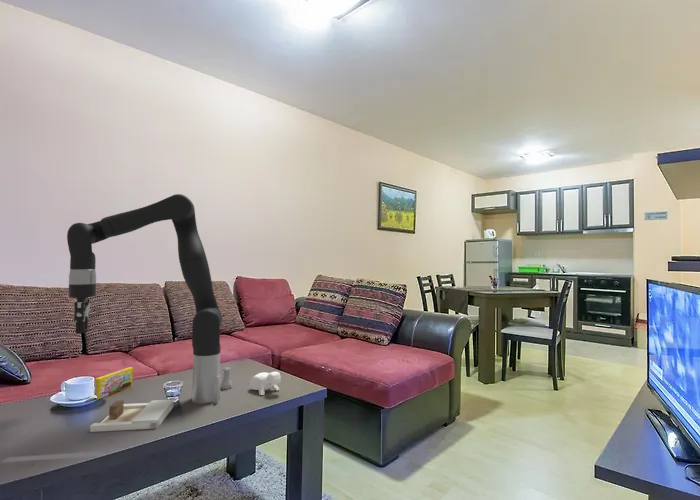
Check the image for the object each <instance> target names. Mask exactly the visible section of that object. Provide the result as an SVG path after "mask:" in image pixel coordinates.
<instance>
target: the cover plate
mask: <svg viewBox="0 0 700 500" xmlns="http://www.w3.org/2000/svg"><path fill="white" fill-rule="evenodd" d="M123 404H125V403H124V400H115V402H113V403H112V404H110V406H109V409H108V410H109V412H108V413H109V415H108V416H109V417H108V418H107V419H106V420H105V421H104V422H103V423H107V422H127V421H132V420H133V419H134V418H135V417H136V416H137V415H138V414H139V413H140V412H141V411H142V410H143V409H144V408H139V409H123Z"/></svg>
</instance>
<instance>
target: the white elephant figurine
mask: <svg viewBox="0 0 700 500" xmlns="http://www.w3.org/2000/svg"><path fill="white" fill-rule="evenodd" d="M281 382H282V376H281V374H280V372H279V371H271V372H265V371H264V372H259V373H257V374H255V375H254V376H252V377H251V378H250V381H249V383H248V384H249V390H250V389H252V390H255V391H256V390H257V391H258V394H259V396H260V395H264V396H265V392H266V391H268V390H270V389H273V390H274V391H275V390H279V391H280V387H279V386H278V384H280V383H281Z"/></svg>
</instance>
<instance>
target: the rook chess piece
mask: <svg viewBox="0 0 700 500" xmlns="http://www.w3.org/2000/svg"><path fill="white" fill-rule="evenodd" d="M231 371H232V369H231V367H230V366H228V367H227V366H223V369H222V372H223V373H222V375H223V378H222V380H221V387H220V390H221V389H222V390H229V388H230V389H231V388H232V387H233V385H232V384H233V383H232V381H231Z"/></svg>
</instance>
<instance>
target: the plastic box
mask: <svg viewBox="0 0 700 500" xmlns="http://www.w3.org/2000/svg"><path fill="white" fill-rule="evenodd" d="M174 407H175V399H157V400H156V399H154V400H153V399H152V400H150V401H149V402H142V403H138V402H137V403H123V409H139V408H144V409H143V410H142V411H141V412H140V413H139V414H138V415H137V416H136V417H135V418H134V419H133V420H132V421H127V422H107V423H103V422H104V421H105V420H106V419H107V418H108V417H109V415H107V416H106V417H105V418H104V419H103V420H101V422H93V423H92V424H90V425H89V432H91V433H95V432H113V431H127V430H128V431H133V430H149V429H150V430H151V429H152V430H153V429H158V428H159V427H160V426H161V424H162V423H163V421H164V420H165V419H166V417H167V416H168V415H169V414H170V412H171V411H172V410H173V408H174Z"/></svg>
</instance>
